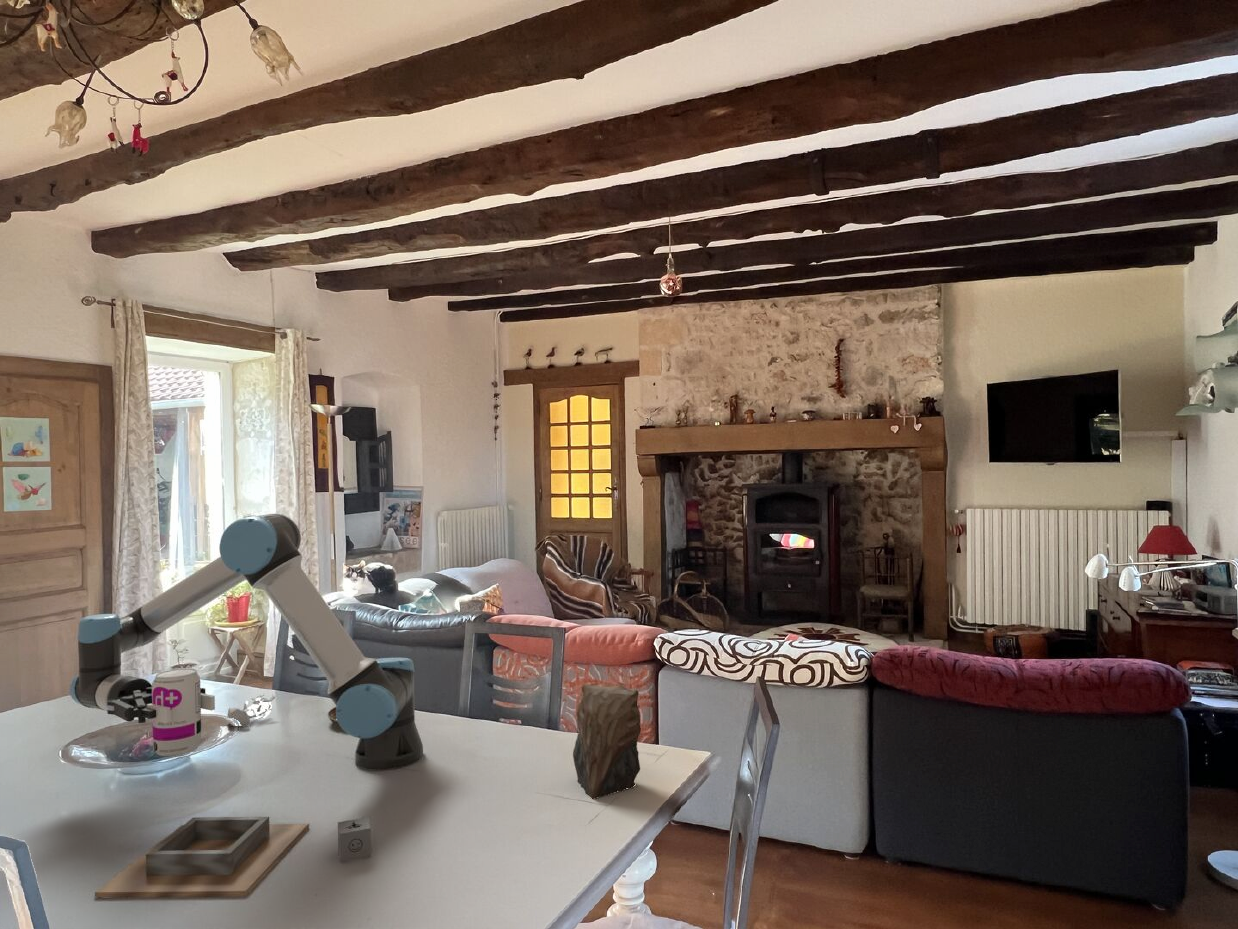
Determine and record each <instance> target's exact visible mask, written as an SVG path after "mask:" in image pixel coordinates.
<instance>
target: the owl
mask: <svg viewBox="0 0 1238 929" xmlns="http://www.w3.org/2000/svg"><path fill="white" fill-rule="evenodd" d="M581 691H582V696H581V698H580V701H579V702H580V703H579V704H578V705H577V710H576V717H577V718H576V723H577V728H578V733H577V736H576V740H575V744H574V748H573V752H572V757H573V763H574V767H575V772H576V775H577V777H576V778H577V780H576V782H577V783H578V784H579V785H580V787H581V788H582V789H583V790H584V792H585V795H587V796H588V795H589V796H590V797H591V798H592V799H591V798H590V797H589V796H588V797H589V798H590V799H591V800H595V799H594V798H596V799H598V798H597V797H599V798H602V797H606V796H609V795H608V794H610V795H612V794H614V792H616V793H618V792H617V791H620V792H622V791H625V790H627V789H626V788H631V787H633V786H634V785H635V783H636V782H635V781H636V778H637V776H638V774H639V773H640V771H641V765H640V759H639V751H638V740H639V738H640V735H641V733H642V732H641V729H642V727H641V713H640V710H639V706H638V699H639V698H638V697H639V690H636V689H635V690H631V689H630V688H627V687H626V686H624V685H613V686H609V685H606V686H601V685H600V686H598V685H595V684H586V683H585V684H582V686H581ZM633 788H634V787H633ZM624 789H625V790H624ZM631 789H632V788H631ZM611 793H612V794H611ZM605 795H606V796H605Z"/></svg>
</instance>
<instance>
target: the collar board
mask: <svg viewBox="0 0 1238 929" xmlns="http://www.w3.org/2000/svg"><path fill="white" fill-rule="evenodd" d="M309 829H310V823H270V816H225V817H224V816H219V817H218V816H217V817H215V816H214V817H213V816H211V817H210V816H207V817H206V816H205V817H204V816H203V817H200V816H199V817H192V818H191V819H189V820H188V821H187V822H185V823H184V824H181V825H180V826H178V827H177V828H175V829H174V830H173V831H172V832H171V833H170V834H168V835H167V836H166V837H164V838H163V839H162V840H160V841H159V842H158V843H156V844H155V845H154V846H152V847H151V848H150V849H149V850H148V851H146V852H145V853H144V854H142V855H141V856H139V857H138V858H137V859H136V860H135V861H133V862H132V863H131V864H130V865H128V866H127V867H125V868H123V870H121V872H119V873H118V874H117V875H115V876H114V877H113V878H112V879H110V880H109V881H108V882H106V883H105V884H104V885H102V886H101V887H99V888H98V890H96V891H95V892H94V898H95V897H116V898H115V899H118V898H117V897H120V898H119V899H140V898H141V899H143V898H144V899H145V898H146V899H148V898H150V899H151V898H152V899H153V898H154V899H155V898H156V899H157V898H233V897H234V898H236V897H237V898H242V897H243V898H247V896H248V895H249V894H250V893H251V892H252V891H253V890H254V889H255V887H257V885H258V884H259V883H260V882H261V881H262V880H263V879H264V878H265V877H266V876H267V874H268V873H269V872H270V871H272V869H273V868H274V867H275V866H276V865H277V864H278V863H279V861H280V860H281V859H282V858H283V857H285V855H286V854H287V853H288V852H289V851H290V850H291V849H292V847H293V846H294V845H295V844H296V843H297V842H298V841H299V840H300V839H301V838H302V836H303V835H304V834H305V833H306V832H307V831H308V830H309ZM123 897H125V898H123ZM129 897H130V898H129Z"/></svg>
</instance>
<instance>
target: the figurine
mask: <svg viewBox="0 0 1238 929" xmlns="http://www.w3.org/2000/svg"><path fill="white" fill-rule="evenodd" d="M264 696H265V694H262V695H261V694H260V695H258V696H257V697H256V698H251V700H252V701H253V702H252V705H250V706H249V707H247V705H248V703H249V701H248V700H246V701H245V702H244V705H243V709H242V708H239V707H229V708H228V709H227V710H228V711H227V718H228V717H229V718H234V719H236V720H238V721H239V722H240V724H241V725H242V726H244V727H243V728H246V727H248V726H249V724H250V722H251V720H250V719H253V718H254V719H256V720H255V721H258V720H257V719H262V718H264V719H266V718H267V717H268V716H269V715H270V713H271V711H272V709H273V703H272V701H274V700H275V699H276V696H275V695H272V696H271V697H270V698H265V697H264ZM262 720H263V719H262Z"/></svg>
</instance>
